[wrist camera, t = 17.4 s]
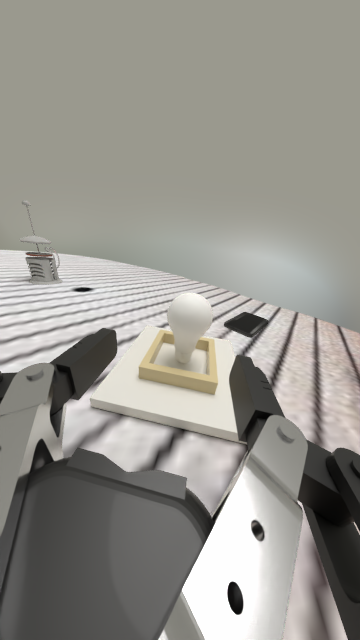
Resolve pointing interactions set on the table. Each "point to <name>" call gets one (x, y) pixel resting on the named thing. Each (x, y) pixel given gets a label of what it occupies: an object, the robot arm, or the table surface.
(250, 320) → the phone
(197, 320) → the lightbulb
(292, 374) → the table surface
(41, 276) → the french press
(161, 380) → the lamp base
